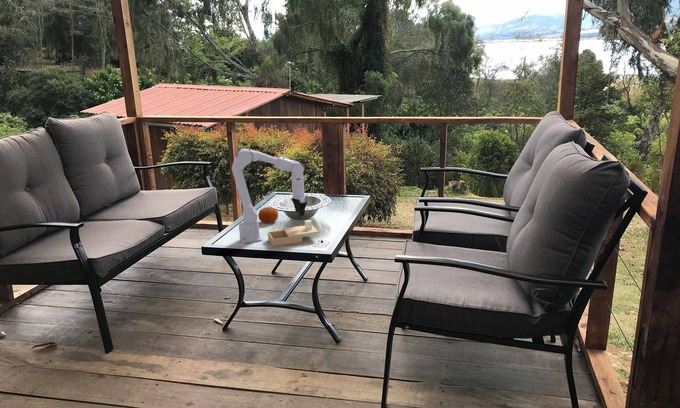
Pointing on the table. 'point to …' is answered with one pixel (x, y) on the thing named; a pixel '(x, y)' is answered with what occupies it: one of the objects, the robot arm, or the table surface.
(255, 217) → the robot arm
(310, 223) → the lid
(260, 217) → the fruit
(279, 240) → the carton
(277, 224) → the table surface
